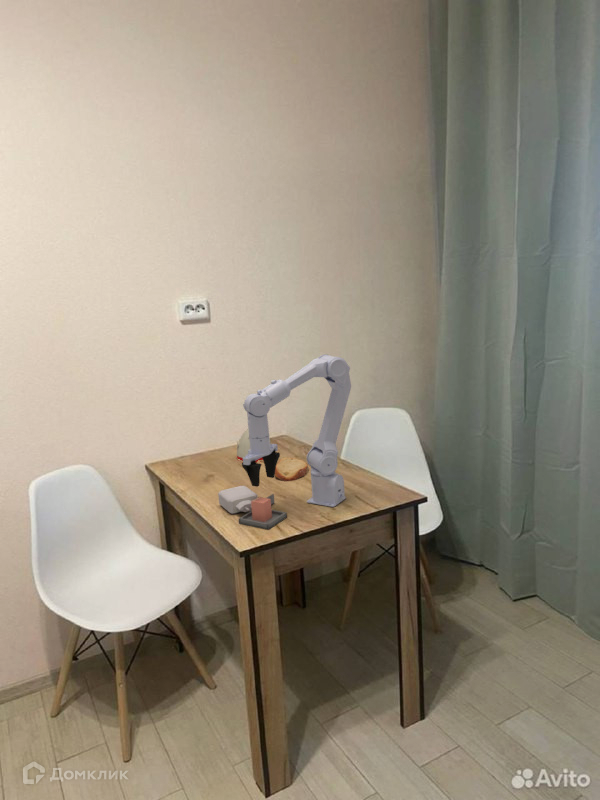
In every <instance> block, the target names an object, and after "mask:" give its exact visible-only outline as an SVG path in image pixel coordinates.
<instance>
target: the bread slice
mask: <svg viewBox="0 0 600 800" xmlns="http://www.w3.org/2000/svg"><path fill="white" fill-rule="evenodd" d="M308 472H309V464H308V463H307V462H305V461H304V460H303V459H299V458H296V457H282V458H281V459H279V461H277V464H276V469H275V475H274V477H276V478H277V479H278V480H280V481H282V482H292V481H297V480H298V479H301V478H303V477H305V476H306V475H307V474H308Z"/></svg>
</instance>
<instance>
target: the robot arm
mask: <svg viewBox="0 0 600 800" xmlns="http://www.w3.org/2000/svg"><path fill="white" fill-rule="evenodd" d="M350 370H351V367H350V365H349V364H348V362H347V361H346V360H345V358H344V357H343V358H342V357H339V356H333V355H329V354H321V355H319V356H318V357H317V358H314V359H312V360H311V361H310V362H308V364H306V365H304V366H303V367H302V368H301V369H299V370H298V371H296V372H295V373H293V374H292V375H290V376H288V377H287V378H286V379H284V380H283V379H280V378H279V379H273V380H270V384H269V385H267V386H266V387H264V388H262V389H260V388H259V389H258V390H256V392H257V393H251V394H249V395H247V396H246V398H245V399H244V402H243V405H242V406H243V409H244V411H245V412H246V413H247V429H248V430H249V441H250V450H248V454H247V455H246V456H245V457H244V458H243V462H241V466H242V468H243V469H244V470H245V473H246V475H247V476H248V478H249V481H250V483H251V486H252V487H257V488H258V487H259V486H260V479H261V478H260V472H261V467H262V463H259V462H256V460H258V459H260V458H263V461H262V462H263V463H264V468H265V475H266V477H267V478H271V479H274V478H275V469H276V466H277V464H278V462H279V461H278V460H280V455H281V453H280V452H278V450H279V449H278V447H279V446H278V444H276V443H271V444H270V442H271V439H270V431H269V430H270V428H269V421H268V420H269V418H268V413H269V411H270V409H271V408H272V407H274V406H276V405H277V404H279V403H281V402H282V401H284V400H286V399H287V398H289V397H290V394H291V391H292V390H294V389H296V388H297V387H298V386H299V387H300V386H301V385H302V384H304V383H306V382H308V381H310V380H312V379H313V378H323V379H324V380H326V381H327V383H328V385H329V386H330V387H331V391H330V396H329V399H328V402H327V406H326V409H325V413H324V417H323V421H322V424H321V427H320V432H319V434H318V435H319V436H318V438H317V440H314V442H313V443H312V446H311V448H310V450H309V451H308V452H307V455H306V463H307V464H308V466H310V482H311V483H310V484H311V495H312V496H311V497H310V498H309V499H307V500H306V503H308V504H313V505H320V506H324V507H325V506H326V507H330V508H334V507H336V506H337V505H339V504H340V503H341V502H343V501H344V500H345V499H347V496H345V495H346V494H345V480H344V476H343V475H342V474H339V473H337V472H336V471H337V468H338V465H339V463H338V454H339V450H338V447H337V445H336V444H337V441H338V436H339V434H340V429H341V426H342V422H343V419H344V415H345V411H346V408H347V404H348V400H349V398H350V393H351V390H352V383H351V377H350Z"/></svg>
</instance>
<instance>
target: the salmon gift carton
mask: <svg viewBox="0 0 600 800" xmlns="http://www.w3.org/2000/svg"><path fill="white" fill-rule="evenodd" d="M251 506H252V518H253V520H258V521H263V522H265V521H267V520H268V519H270V518H272V510H273V509H272V505H271V499H268V498H267V497H263V496H257V498H256V499H254V500H252V501H251Z"/></svg>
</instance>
